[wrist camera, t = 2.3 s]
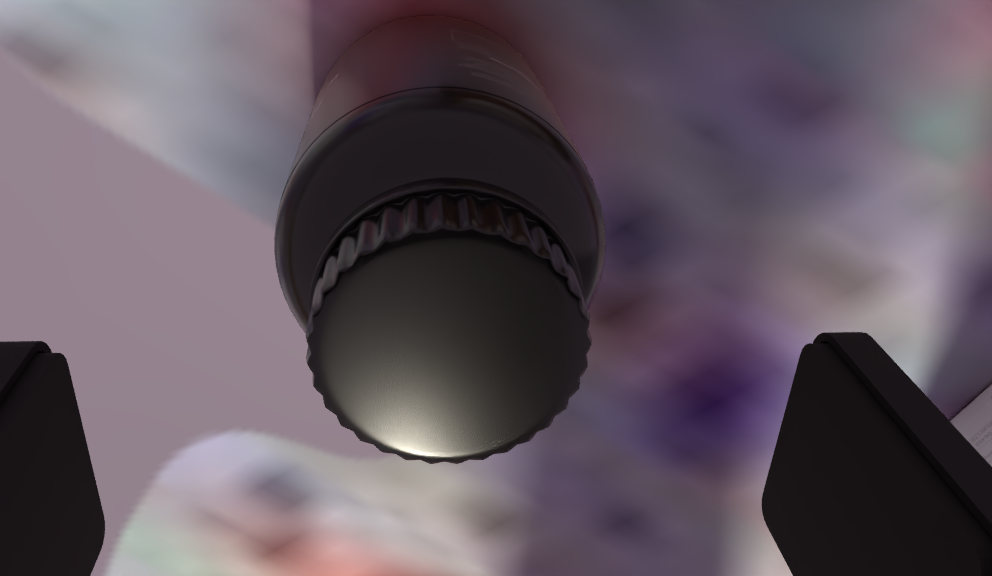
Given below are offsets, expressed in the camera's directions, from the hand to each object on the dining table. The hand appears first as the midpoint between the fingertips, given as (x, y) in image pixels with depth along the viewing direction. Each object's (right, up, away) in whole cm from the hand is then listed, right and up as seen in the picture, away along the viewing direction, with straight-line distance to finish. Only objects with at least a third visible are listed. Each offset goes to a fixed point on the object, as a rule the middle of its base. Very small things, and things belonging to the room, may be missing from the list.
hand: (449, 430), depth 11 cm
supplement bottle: (-1, +6, +14) cm, 15 cm away
